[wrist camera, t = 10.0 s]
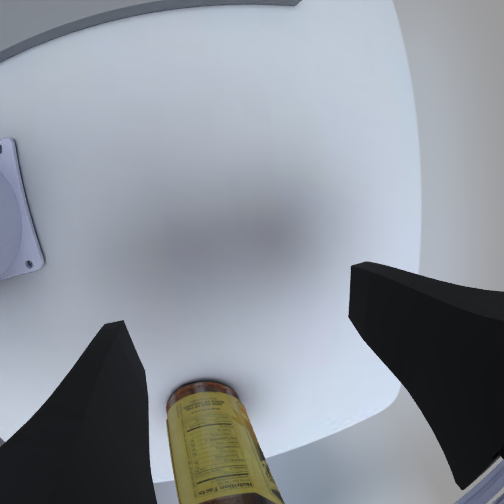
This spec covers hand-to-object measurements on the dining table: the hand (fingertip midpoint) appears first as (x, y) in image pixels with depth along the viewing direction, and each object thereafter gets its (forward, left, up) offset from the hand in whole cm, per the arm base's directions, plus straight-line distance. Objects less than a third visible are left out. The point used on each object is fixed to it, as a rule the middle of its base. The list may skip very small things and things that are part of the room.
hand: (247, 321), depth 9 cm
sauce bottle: (-3, -14, -10) cm, 17 cm away
